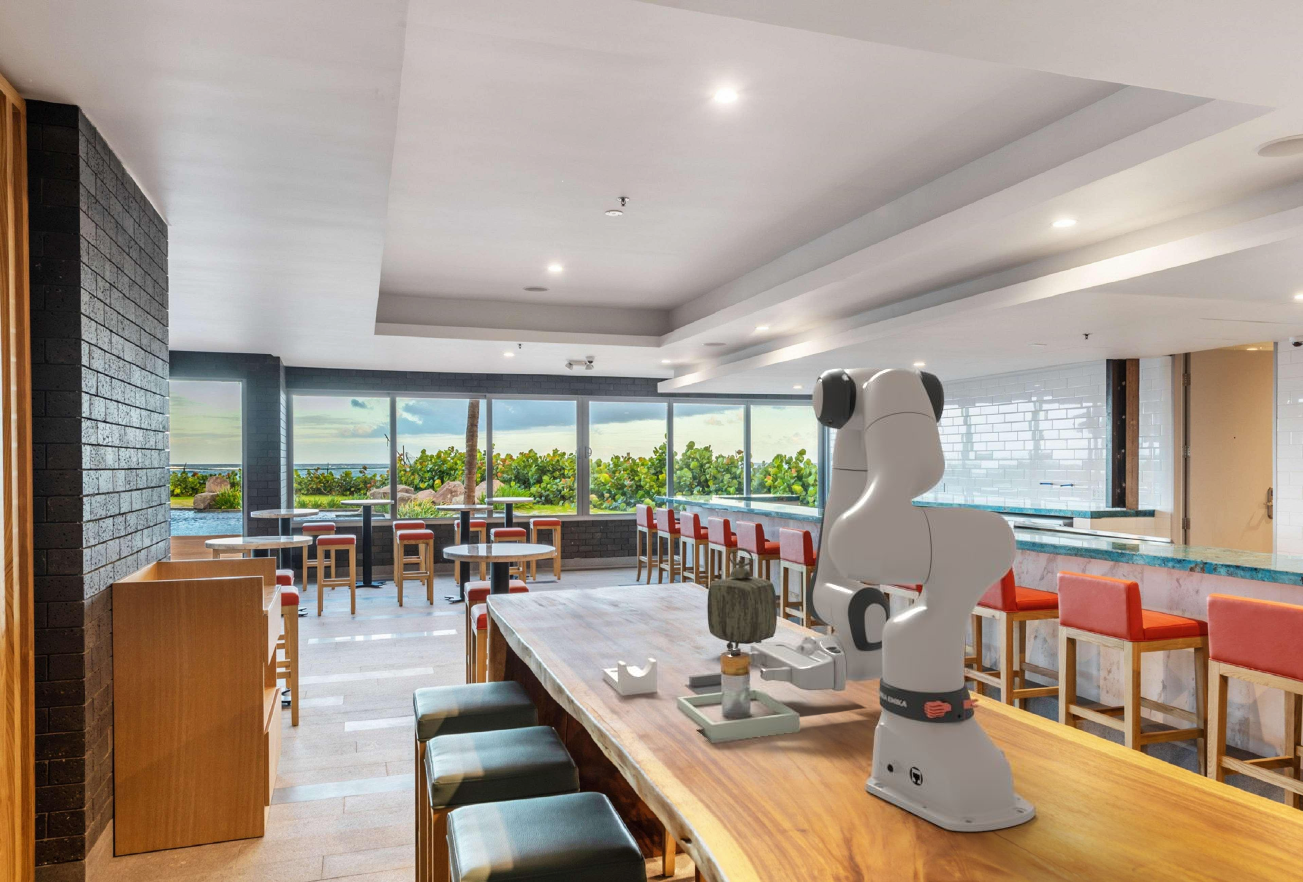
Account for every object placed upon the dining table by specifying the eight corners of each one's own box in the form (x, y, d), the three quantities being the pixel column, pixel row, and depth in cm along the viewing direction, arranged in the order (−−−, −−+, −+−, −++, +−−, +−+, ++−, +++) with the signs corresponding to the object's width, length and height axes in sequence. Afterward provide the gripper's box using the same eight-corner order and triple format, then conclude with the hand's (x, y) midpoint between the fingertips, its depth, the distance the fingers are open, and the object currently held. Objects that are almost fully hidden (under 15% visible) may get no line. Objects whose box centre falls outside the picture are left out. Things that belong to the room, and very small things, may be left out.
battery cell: (755, 720, 140) (755, 650, 141) (728, 724, 139) (728, 653, 139) (743, 712, 145) (742, 644, 146) (717, 715, 144) (716, 647, 144)
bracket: (657, 700, 156) (656, 661, 156) (621, 704, 154) (621, 664, 154) (636, 683, 168) (635, 646, 169) (603, 686, 166) (602, 649, 166)
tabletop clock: (777, 656, 188) (776, 548, 188) (754, 664, 181) (752, 552, 182) (728, 647, 198) (726, 544, 198) (704, 654, 191) (703, 547, 192)
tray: (799, 731, 137) (799, 713, 137) (712, 743, 132) (711, 724, 132) (757, 704, 152) (757, 688, 152) (677, 714, 147) (677, 697, 147)
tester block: (752, 701, 154) (752, 684, 154) (703, 707, 151) (703, 689, 151) (730, 687, 164) (730, 671, 164) (684, 692, 160) (684, 676, 160)
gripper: (790, 631, 157) (725, 637, 153) (849, 656, 138) (776, 663, 134) (791, 664, 157) (725, 671, 153) (850, 693, 138) (777, 702, 134)
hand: (749, 668), depth 143 cm, fingers open, 8 cm apart
